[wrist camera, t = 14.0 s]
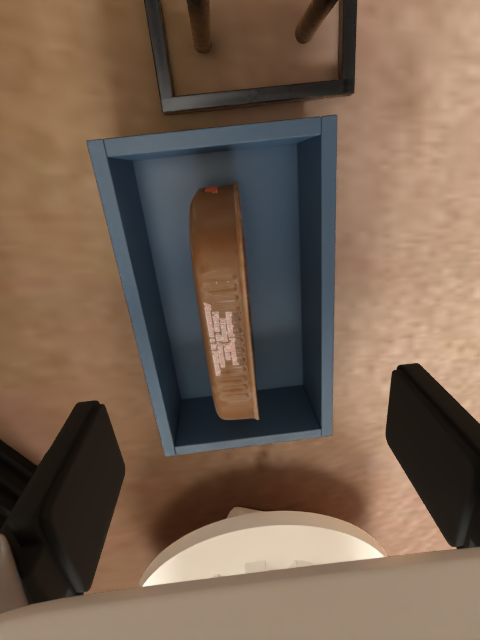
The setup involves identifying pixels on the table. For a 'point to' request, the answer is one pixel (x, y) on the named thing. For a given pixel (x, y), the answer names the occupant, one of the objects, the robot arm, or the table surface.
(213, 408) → the open box
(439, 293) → the table surface
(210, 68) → the table surface
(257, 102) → the rack
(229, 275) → the tin
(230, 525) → the flanged gear
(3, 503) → the chess piece
